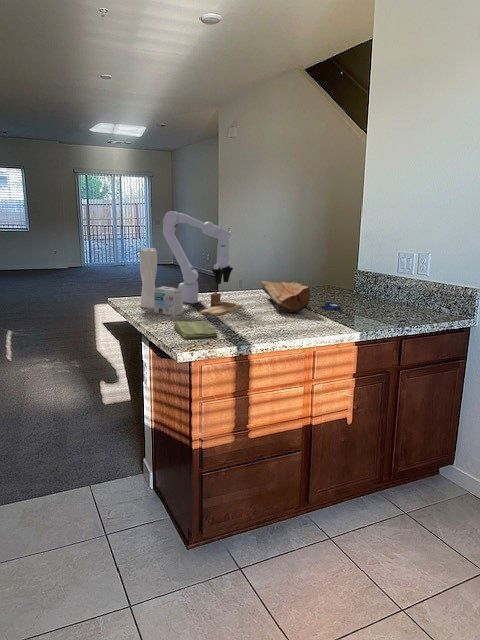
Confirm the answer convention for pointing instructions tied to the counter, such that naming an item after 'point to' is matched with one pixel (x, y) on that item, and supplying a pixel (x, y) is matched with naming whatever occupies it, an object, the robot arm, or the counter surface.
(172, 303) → the light bulb box
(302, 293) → the log
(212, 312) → the board
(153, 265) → the skyscraper
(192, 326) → the washcloth
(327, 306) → the bar clamp
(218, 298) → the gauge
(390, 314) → the counter surface
